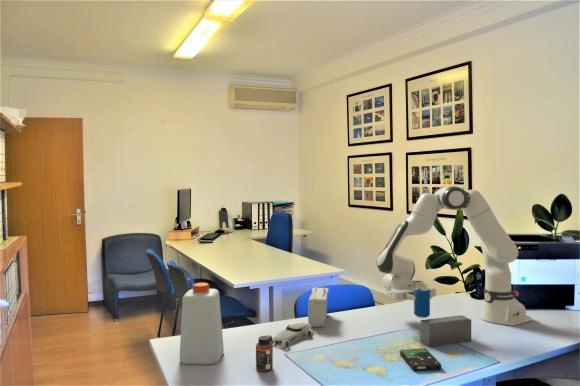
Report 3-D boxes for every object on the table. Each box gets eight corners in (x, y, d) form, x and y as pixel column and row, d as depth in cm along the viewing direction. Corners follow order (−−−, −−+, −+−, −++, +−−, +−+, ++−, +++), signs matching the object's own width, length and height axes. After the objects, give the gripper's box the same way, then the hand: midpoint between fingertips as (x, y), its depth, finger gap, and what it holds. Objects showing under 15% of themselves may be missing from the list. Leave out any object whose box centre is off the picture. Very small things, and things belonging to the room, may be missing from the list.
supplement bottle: (273, 372, 161) (272, 340, 160) (256, 372, 160) (255, 341, 160) (272, 364, 167) (272, 334, 166) (256, 365, 166) (255, 334, 165)
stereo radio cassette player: (312, 313, 226) (311, 273, 225) (328, 314, 225) (328, 273, 224) (307, 327, 206) (307, 283, 204) (326, 328, 204) (326, 284, 203)
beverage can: (411, 313, 199) (411, 286, 198) (426, 313, 199) (426, 286, 199) (417, 318, 192) (417, 290, 191) (432, 318, 193) (432, 290, 192)
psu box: (461, 336, 194) (461, 314, 194) (471, 341, 188) (471, 319, 188) (419, 341, 188) (420, 319, 188) (428, 347, 182) (429, 324, 182)
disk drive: (441, 372, 161) (425, 354, 176) (442, 364, 161) (425, 347, 176) (413, 373, 160) (399, 355, 175) (413, 365, 160) (399, 348, 175)
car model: (262, 345, 186) (262, 332, 186) (297, 328, 206) (297, 317, 206) (283, 351, 180) (283, 338, 180) (318, 333, 199) (318, 322, 199)
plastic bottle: (187, 349, 181) (186, 279, 180) (225, 349, 181) (224, 279, 180) (176, 365, 166) (175, 289, 165) (218, 366, 166) (217, 289, 164)
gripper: (385, 284, 204) (401, 292, 191) (424, 280, 210) (443, 287, 197) (385, 298, 205) (401, 307, 191) (424, 294, 211) (443, 302, 198)
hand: (423, 297), depth 194 cm, fingers closed on beverage can, 6 cm apart
